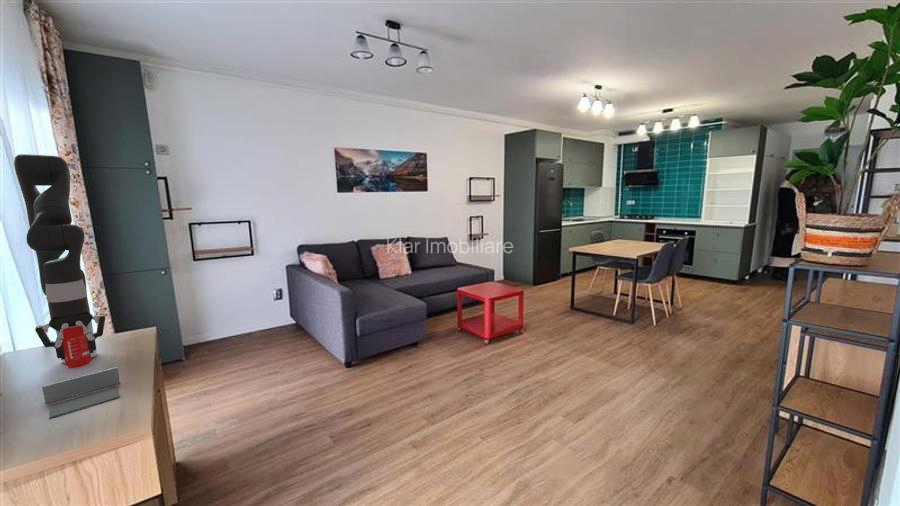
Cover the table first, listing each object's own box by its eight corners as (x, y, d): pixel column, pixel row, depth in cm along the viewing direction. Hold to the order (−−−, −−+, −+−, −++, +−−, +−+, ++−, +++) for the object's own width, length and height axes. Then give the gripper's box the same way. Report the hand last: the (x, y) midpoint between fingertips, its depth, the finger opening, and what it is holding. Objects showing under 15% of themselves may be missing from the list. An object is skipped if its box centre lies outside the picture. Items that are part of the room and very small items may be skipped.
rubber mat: (50, 405, 103) (50, 404, 103) (116, 386, 113) (116, 385, 113) (49, 418, 97) (49, 417, 97) (120, 397, 107) (119, 396, 107)
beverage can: (75, 370, 100) (67, 328, 98) (61, 368, 101) (53, 327, 99) (96, 361, 105) (90, 322, 103) (82, 360, 106) (76, 321, 104)
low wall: (45, 402, 105) (42, 385, 104) (119, 381, 116) (117, 366, 116) (45, 403, 104) (42, 387, 103) (119, 382, 116) (117, 367, 115)
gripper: (102, 290, 108) (110, 344, 110) (28, 300, 98) (40, 360, 100) (104, 294, 103) (113, 351, 105) (27, 305, 93) (39, 368, 95)
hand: (77, 355), depth 103 cm, fingers closed on beverage can, 5 cm apart
